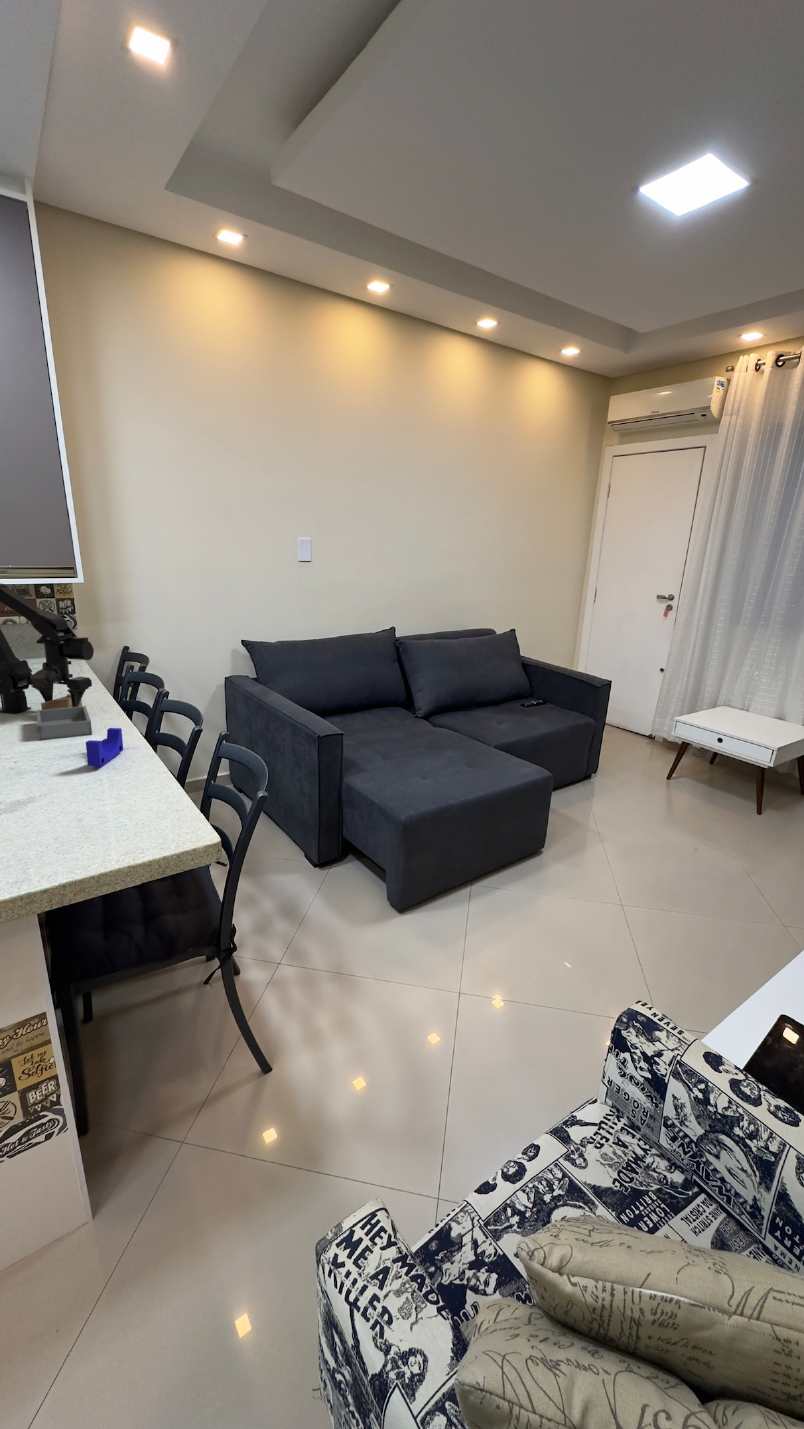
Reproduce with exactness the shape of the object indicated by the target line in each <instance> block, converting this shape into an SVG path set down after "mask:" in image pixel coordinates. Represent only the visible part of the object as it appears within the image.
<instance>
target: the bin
mask: <svg viewBox="0 0 804 1429" xmlns="http://www.w3.org/2000/svg"><path fill="white" fill-rule="evenodd" d="M36 720H37V731H38V732H37V733H38V739H39V741H47V740H48V741H49V740H55V739H56V740H57V739H68V738H75V737H76V738H77V737H82V736H83V737H84V736H86V737H87V736H91V735H93V729H92V728H93V727H92V720H91V718H90V715H89V712H88V709H87V707H86V705H82V707H70V708H59V709H47V710H42V709H39V710H36Z"/></svg>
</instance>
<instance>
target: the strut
mask: <svg viewBox="0 0 804 1429" xmlns="http://www.w3.org/2000/svg"><path fill="white" fill-rule="evenodd" d="M82 706H83V701H82V698H81V701H80V703H79V706H78V707H82ZM40 707H41V708H40V709H41V710H47V709H59V708H70V707H73V706H72V700H71V694H70V693H68V694H66V696H62V697H59V698H55V699H53V700H51V701H47V702H45V701H44V702H41V703H40Z"/></svg>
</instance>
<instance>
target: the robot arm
mask: <svg viewBox="0 0 804 1429" xmlns="http://www.w3.org/2000/svg"><path fill="white" fill-rule="evenodd" d="M0 603H1V604H3V605H4V606H6V607H7V608H9V609H10V610H12V611H14V612H15V613H16V614H18V615H20V616H21V617H23V618H24V619H26V620H28V622H30V624H31V626H32V627H33V629H35V630H36V631H37V632H38V633H39V634H40V635H41V636H40V637H39V638H38V639H37V640H36V641H35V642H36V643H37V644H43V648H44V654H45V662H42V668H41V669H39V670H37V671H35V673H33V674H32V672H33V670H32V669H31V667H30V666H29V663H28V661H27V660H26V659H22V660H21V659H19V658H18V657H16V655H15V653H14V651H13V649H12V648H11V645H10V643H9V642H8V641H7V639H6V636H5V635H4V633H3V631H2V629H1V628H0V705H1V709H0V713H5V714H14V715H15V714H18V713H21V712H25V711H28V710H31V709H32V706H28V700H27V699H28V698H27V696H26V692H25V690H28V689H29V688H30V687H31V688H33V689H35V690H36V691H38V692H39V693H40V695H41V697H42V698H43V701H44V702H47V701H51V700H54V699H53V698H54V684H55V685H65V686H66V688H68V689H67V690H66V691H67V692H68V694H71V700H72V706H73V707H78V706H79V703H80V701H81V699H82V698H83V695H85V692H86V691H87V690H89V688H91V687H93V680H92V679H91V678H90V677H86V676H76V677H73V673H70V669H69V668H70V667H69V666H70V665H72V660H77V661H90V660H91V659H92V658H93V656H94V653H95V652H94V647H93V644H92V643H91V642H90V641H89V637H87V636H84V637H78V636H77V635H76V634H75V632H74V630H72V629H71V628H70V626H69V625H68V623H67V620H66V619H65V618H64V617H63V616H60V615H58V614H56V613H53V612H51V611H47V610H44V609H43V608H40V607H38V606H37V605H35V604H34V603H32V602H31V601H30V600H27V599H26V598H25V597H23V596H21V594H18V592H16V591H15V590H12V589H11V588H9V586H8V585H7V584H5V583H1V582H0Z"/></svg>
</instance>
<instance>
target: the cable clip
mask: <svg viewBox="0 0 804 1429" xmlns="http://www.w3.org/2000/svg"><path fill="white" fill-rule="evenodd" d="M85 750H86V757H87V758H86V759H87V765H88V767H102V766H104V765H105V764H106V763H107V762H109V761H110V760H112V759H113V758H115V757H116V756H118V755H119V754H120V753H122V752H123V751H124V744H123V730H122V727H109V728H108V729H107V730H106V738H103V739H102V740H87V741H85Z"/></svg>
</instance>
